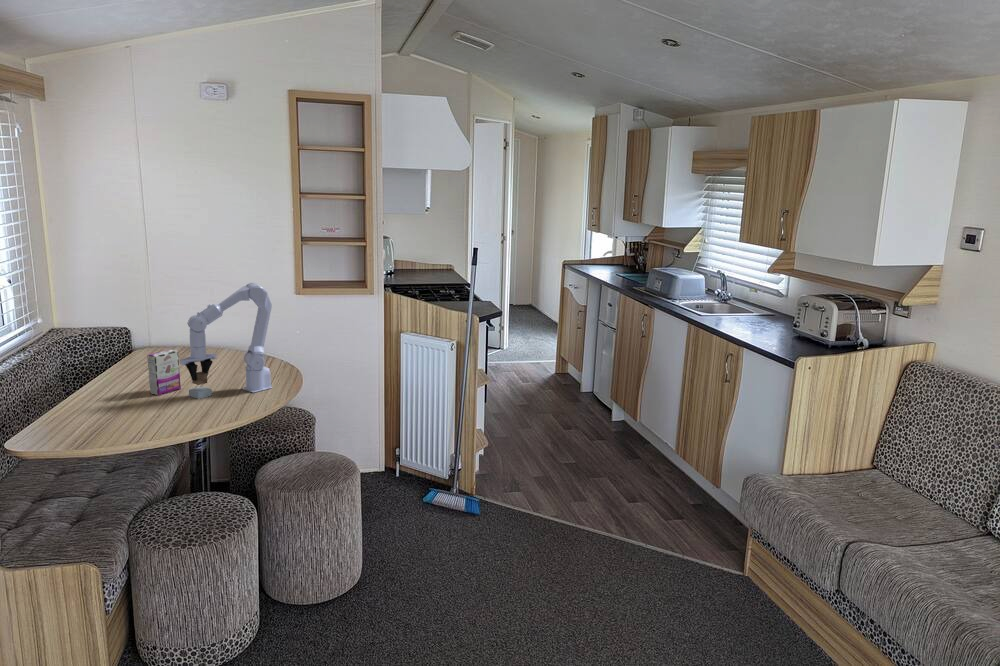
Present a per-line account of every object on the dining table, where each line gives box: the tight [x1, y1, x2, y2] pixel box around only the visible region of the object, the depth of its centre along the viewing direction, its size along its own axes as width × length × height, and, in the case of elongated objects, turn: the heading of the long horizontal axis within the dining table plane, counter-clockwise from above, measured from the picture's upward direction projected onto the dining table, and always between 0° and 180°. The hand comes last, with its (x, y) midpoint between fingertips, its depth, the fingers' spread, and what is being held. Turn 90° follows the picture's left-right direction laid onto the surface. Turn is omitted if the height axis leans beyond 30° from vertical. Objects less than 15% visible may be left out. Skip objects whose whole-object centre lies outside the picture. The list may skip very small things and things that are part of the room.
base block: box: [188, 386, 213, 400], centre depth 283 cm, size 6×6×3 cm
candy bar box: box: [146, 348, 182, 396], centre depth 285 cm, size 11×5×16 cm, turn 155°
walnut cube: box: [191, 371, 208, 386], centre depth 282 cm, size 4×4×4 cm
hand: (199, 379), depth 282 cm, fingers closed on walnut cube, 4 cm apart
